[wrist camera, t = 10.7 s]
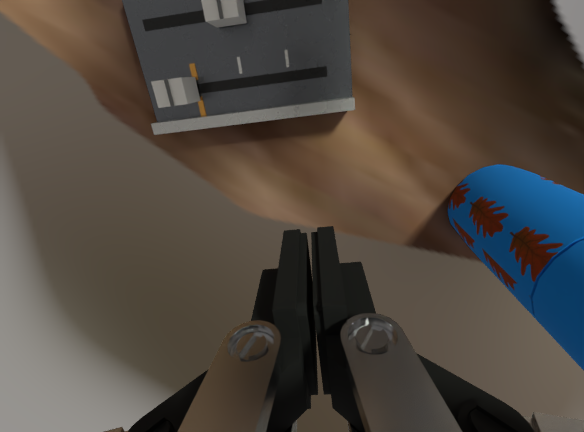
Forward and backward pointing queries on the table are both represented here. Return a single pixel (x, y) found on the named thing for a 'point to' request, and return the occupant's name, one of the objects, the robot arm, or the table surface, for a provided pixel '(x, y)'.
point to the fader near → (224, 12)
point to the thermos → (528, 244)
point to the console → (245, 60)
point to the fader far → (175, 91)
